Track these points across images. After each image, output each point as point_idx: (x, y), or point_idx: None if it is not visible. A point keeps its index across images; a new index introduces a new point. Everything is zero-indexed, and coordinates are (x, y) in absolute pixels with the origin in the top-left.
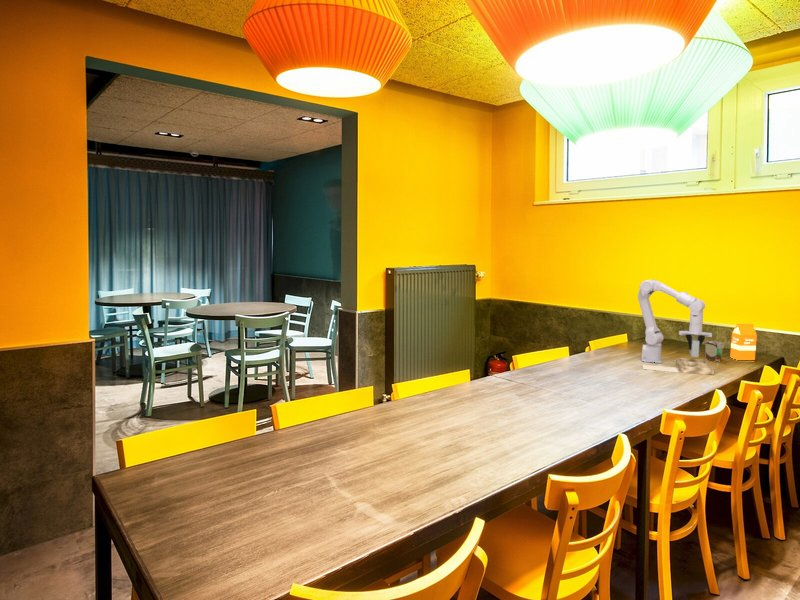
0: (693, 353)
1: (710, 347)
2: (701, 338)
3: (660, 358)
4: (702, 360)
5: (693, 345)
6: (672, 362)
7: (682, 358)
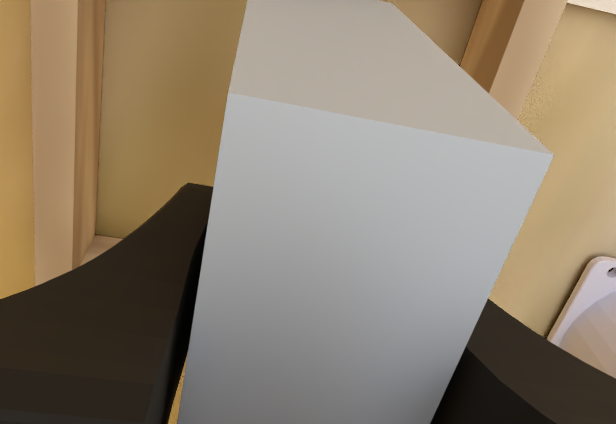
0: (374, 9)
1: None
2: (41, 367)
3: (594, 340)
4: None
5: (444, 80)
6: None
7: None
